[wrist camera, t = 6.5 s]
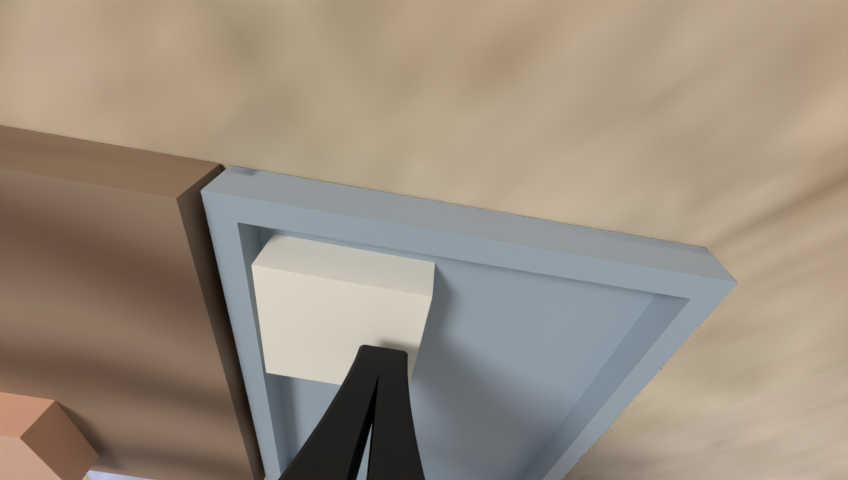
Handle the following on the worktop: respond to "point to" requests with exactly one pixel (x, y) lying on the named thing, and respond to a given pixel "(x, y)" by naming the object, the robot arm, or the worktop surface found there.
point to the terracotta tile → (40, 441)
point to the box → (473, 321)
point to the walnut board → (121, 307)
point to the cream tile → (336, 306)
